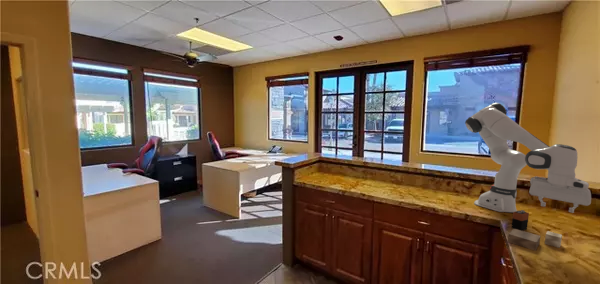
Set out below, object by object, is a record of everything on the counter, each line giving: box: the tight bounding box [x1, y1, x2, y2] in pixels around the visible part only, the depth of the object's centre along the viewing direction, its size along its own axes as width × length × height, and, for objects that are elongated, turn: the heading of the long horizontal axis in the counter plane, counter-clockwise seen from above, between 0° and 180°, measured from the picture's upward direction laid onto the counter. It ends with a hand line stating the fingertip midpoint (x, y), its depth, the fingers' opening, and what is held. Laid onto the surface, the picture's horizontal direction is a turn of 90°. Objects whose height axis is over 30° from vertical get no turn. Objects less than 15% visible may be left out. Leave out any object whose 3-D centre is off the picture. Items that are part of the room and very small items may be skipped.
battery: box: [511, 209, 530, 231], centre depth 139 cm, size 4×7×10 cm, turn 116°
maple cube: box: [544, 230, 563, 249], centre depth 123 cm, size 5×5×5 cm
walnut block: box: [507, 228, 541, 252], centre depth 123 cm, size 10×10×4 cm
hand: (556, 209), depth 121 cm, fingers open, 8 cm apart
